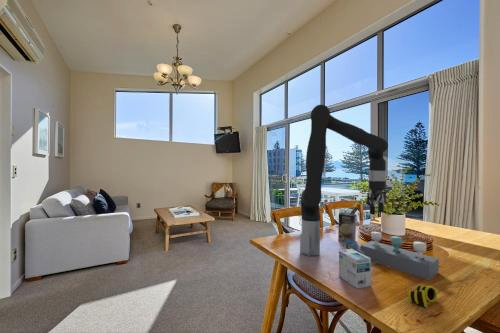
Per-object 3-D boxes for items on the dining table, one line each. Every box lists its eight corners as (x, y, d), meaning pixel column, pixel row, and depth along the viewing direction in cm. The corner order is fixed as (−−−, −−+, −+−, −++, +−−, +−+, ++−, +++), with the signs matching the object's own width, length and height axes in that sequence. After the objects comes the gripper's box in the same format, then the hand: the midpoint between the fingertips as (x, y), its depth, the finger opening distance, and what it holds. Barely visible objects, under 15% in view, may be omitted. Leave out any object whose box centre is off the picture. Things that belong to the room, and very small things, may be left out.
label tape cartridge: (365, 272, 99) (365, 243, 99) (357, 273, 98) (357, 243, 98) (352, 263, 107) (353, 236, 107) (345, 264, 107) (345, 237, 107)
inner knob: (378, 250, 111) (378, 234, 111) (369, 247, 114) (369, 232, 114) (383, 248, 113) (383, 233, 113) (374, 245, 117) (374, 231, 117)
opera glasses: (420, 296, 83) (417, 281, 83) (438, 300, 78) (435, 284, 79) (408, 305, 77) (405, 289, 78) (427, 310, 73) (423, 293, 74)
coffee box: (337, 240, 139) (337, 214, 139) (339, 237, 145) (340, 212, 144) (354, 243, 134) (354, 215, 134) (356, 240, 140) (356, 213, 140)
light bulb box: (371, 286, 87) (371, 257, 87) (356, 289, 85) (357, 260, 85) (351, 273, 98) (351, 248, 97) (337, 275, 96) (338, 249, 95)
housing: (429, 280, 92) (429, 265, 92) (360, 257, 115) (360, 245, 115) (438, 272, 98) (438, 258, 98) (371, 252, 121) (371, 240, 121)
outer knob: (423, 263, 96) (424, 245, 96) (411, 260, 100) (411, 242, 100) (427, 261, 99) (428, 243, 99) (415, 257, 102) (415, 240, 102)
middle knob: (399, 256, 103) (399, 239, 103) (389, 253, 107) (389, 237, 107) (403, 254, 106) (404, 238, 106) (393, 251, 110) (393, 235, 109)
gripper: (376, 179, 121) (376, 210, 121) (361, 179, 112) (361, 213, 112) (392, 179, 115) (391, 212, 115) (378, 180, 106) (377, 216, 106)
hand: (376, 213), depth 114 cm, fingers open, 8 cm apart
